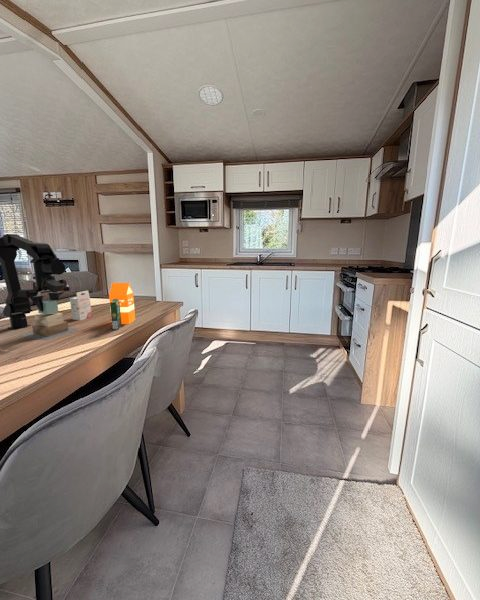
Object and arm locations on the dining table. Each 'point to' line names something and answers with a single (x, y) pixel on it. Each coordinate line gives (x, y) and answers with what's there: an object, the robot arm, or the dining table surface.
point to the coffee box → (115, 314)
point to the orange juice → (123, 301)
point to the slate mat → (49, 336)
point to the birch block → (49, 319)
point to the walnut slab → (50, 329)
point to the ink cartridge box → (81, 306)
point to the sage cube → (49, 307)
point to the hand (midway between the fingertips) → (48, 310)
